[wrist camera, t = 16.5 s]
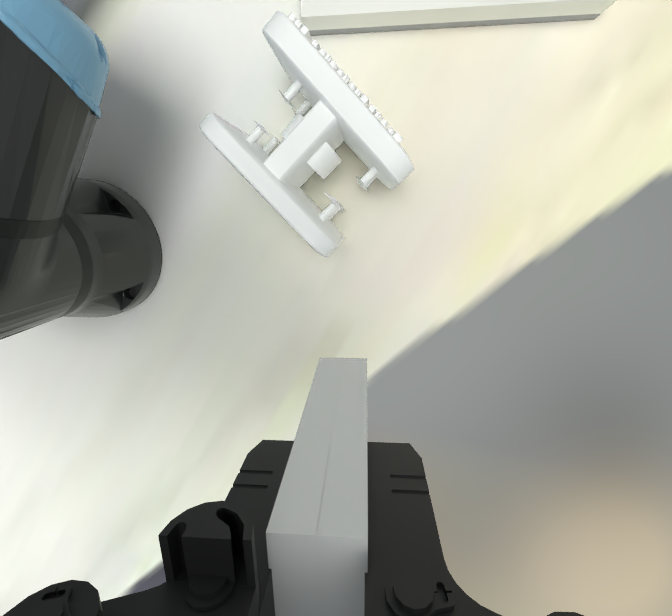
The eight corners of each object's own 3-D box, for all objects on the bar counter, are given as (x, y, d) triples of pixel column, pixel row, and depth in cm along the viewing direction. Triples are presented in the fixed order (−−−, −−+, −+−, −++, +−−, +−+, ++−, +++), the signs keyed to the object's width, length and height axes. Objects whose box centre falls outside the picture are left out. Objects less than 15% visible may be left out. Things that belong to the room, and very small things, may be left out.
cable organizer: (234, 142, 38) (179, 114, 27) (305, 59, 35) (277, -11, 24) (334, 247, 40) (322, 262, 29) (408, 176, 37) (426, 161, 26)
